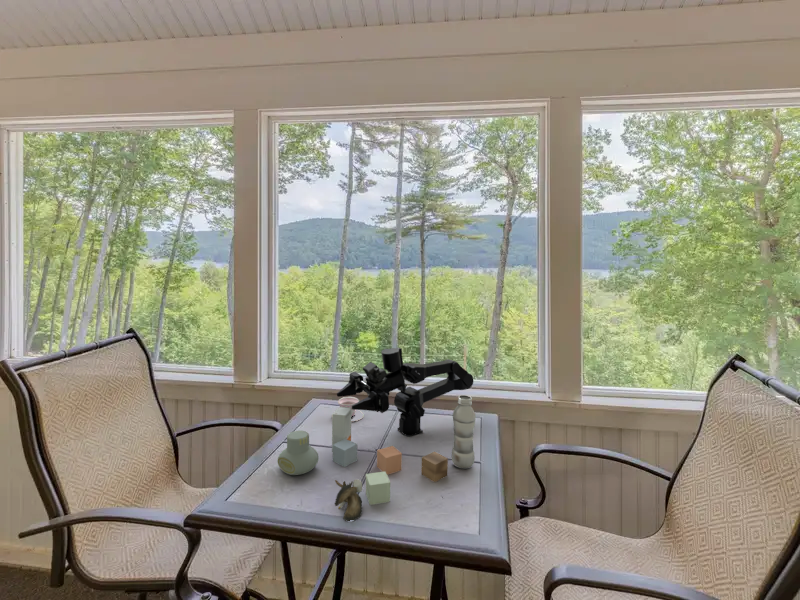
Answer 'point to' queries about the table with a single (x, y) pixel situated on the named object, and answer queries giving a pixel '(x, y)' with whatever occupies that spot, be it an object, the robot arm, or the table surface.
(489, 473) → the table surface
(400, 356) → the robot arm
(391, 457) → the terracotta cube
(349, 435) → the skincare box
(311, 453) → the air freshener
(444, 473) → the walnut cube
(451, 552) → the table surface
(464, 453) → the plastic bottle
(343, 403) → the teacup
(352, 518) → the deer head figurine
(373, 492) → the sage cube
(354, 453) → the slate cube
